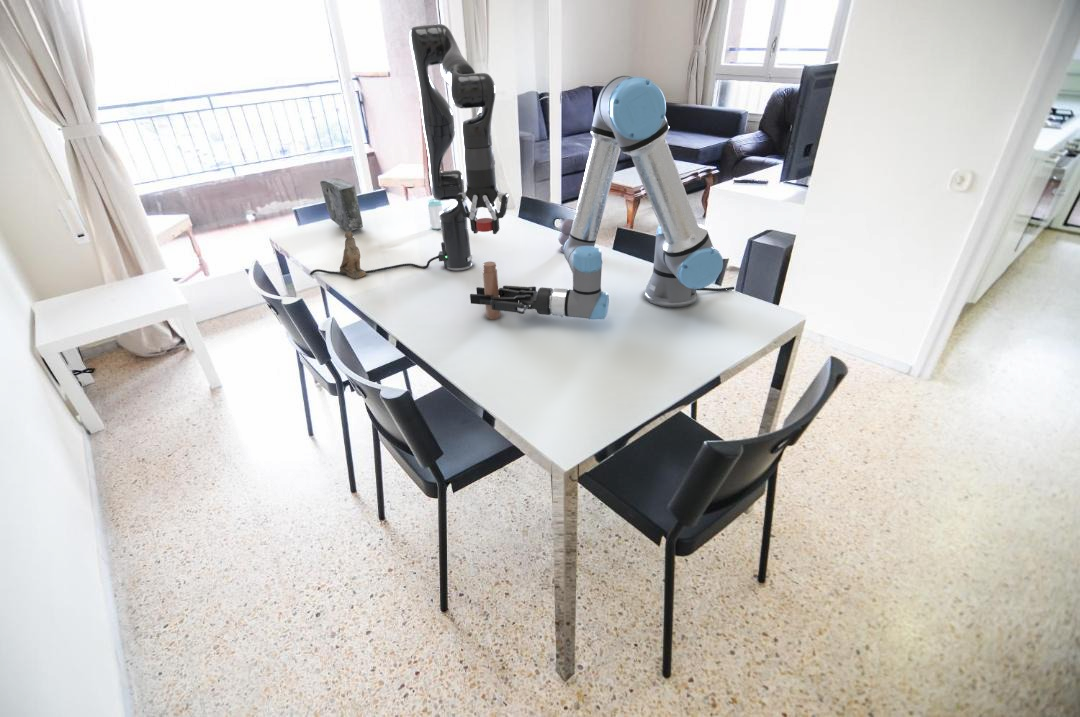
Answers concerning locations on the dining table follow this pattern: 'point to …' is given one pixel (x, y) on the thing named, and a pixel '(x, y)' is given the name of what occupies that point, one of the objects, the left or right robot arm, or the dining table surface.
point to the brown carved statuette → (351, 258)
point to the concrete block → (342, 203)
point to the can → (435, 213)
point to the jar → (491, 287)
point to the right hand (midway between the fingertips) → (474, 295)
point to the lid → (484, 224)
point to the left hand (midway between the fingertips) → (485, 232)
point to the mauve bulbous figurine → (565, 231)
